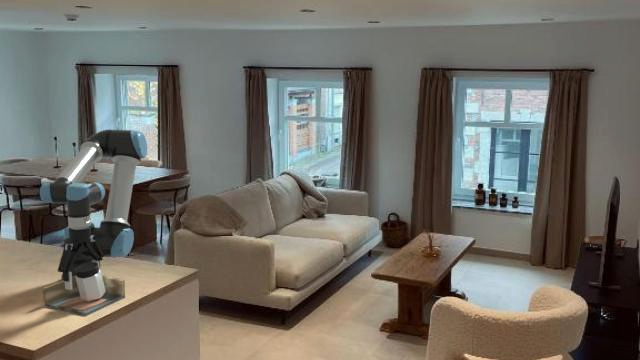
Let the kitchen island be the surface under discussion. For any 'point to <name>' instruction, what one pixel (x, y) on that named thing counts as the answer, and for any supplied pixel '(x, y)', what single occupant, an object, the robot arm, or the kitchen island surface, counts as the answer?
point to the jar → (89, 281)
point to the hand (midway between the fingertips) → (83, 283)
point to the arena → (72, 301)
